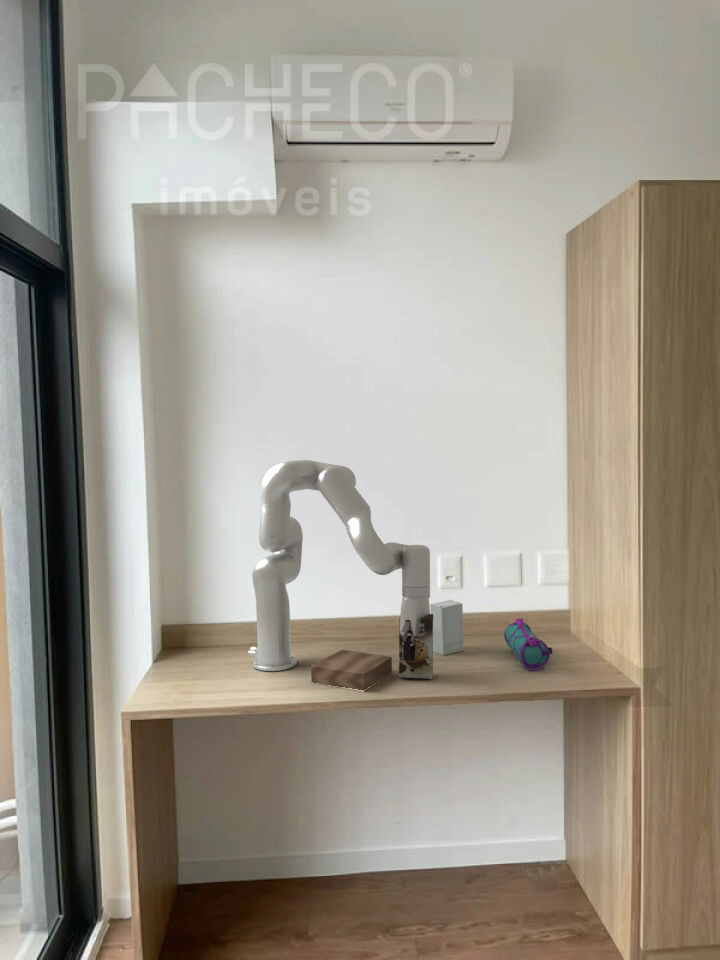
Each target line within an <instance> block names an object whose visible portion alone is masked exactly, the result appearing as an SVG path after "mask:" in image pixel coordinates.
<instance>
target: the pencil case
mask: <svg viewBox="0 0 720 960" xmlns="http://www.w3.org/2000/svg"><path fill="white" fill-rule="evenodd" d="M503 633H504V634H503V636H504V641H505V642H506V645H507V646H508V647H509V649H510V650H511V651H512V653H513V654H514V655H515V657H516V659H518V660H519V662H520V663H521V664H522V665H523V666H524V668H525V669H526V670H528V671H531V672H535V671H539V670H540V669H543V668H544V667H545V666H546V665H547V664H548V663H549V660H550V656H551V655H553V647H552V646H551V647H549V646H548V645H547V643H546V642H545V641H543V640H542V639H541V638H538V637H537V636H536V635H535V633H533V632H532V629H531V627H530V626H529V624H527V623H526V622H524V618H515V622H512V623H510V624H508V626H507V627H506V628H505V630H504V632H503Z"/></svg>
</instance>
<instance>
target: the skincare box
mask: <svg viewBox="0 0 720 960" xmlns="http://www.w3.org/2000/svg"><path fill="white" fill-rule="evenodd" d="M429 605H430V614H433V653H436V654H438V653H439V655H440V654H441V655H440V656H446V655H450V654H453V653H457V652H461V651H464V618H463V617H464V616H463V613H464V611H463V609H464V608H463V603H462V602H459V601H455V600H454V599H453V600H452V599H448V600H444V601H439V602H435V603H434V602H433V603H429Z"/></svg>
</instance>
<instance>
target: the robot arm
mask: <svg viewBox="0 0 720 960" xmlns="http://www.w3.org/2000/svg"><path fill="white" fill-rule="evenodd" d="M356 479H357V478H356V475H355V473H354V471H352V469H350V468H349V467H347V466H345V465H340V464H339V465H338V464H333V463H332V464H331V463H328V462H327V463H326V462H321V461H315V460H307V459H303V460H302V459H300V460H290V461H284V462H281V463H278V464H276V465H274V466H272V467H271V468H270V469H268V470H267V472H266V473H265V475H264V477H263V478H262V483H261V493H260V495H261V497H260V511H259V512H260V513H259V527H258V528H259V529H258V530H259V531H258V541H259V545H260V547H261V548H262V549H263V550H264V551H266V552H268V553H271V555H268V556H267V557H263V558H262V559H260V560H259V561H258V562H257V563H255V565H254V567H253V571H252V576H251V577H252V585H253V589H254V595H255V607H256V608H255V609H256V611H255V612H256V631H257V634H256V635H257V637H256V638H257V646H251V647H250V649H249V650H248V656H254V658H255V659H254V660H253V661H252V667H253V668H254V669H256V670H259V671H263V672H277V671H285V670H288V669H291V668H294V667H295V666H296V665H297V663H298V660H297V658H296V657H295V656H293V655H292V645H291V644H292V643H291V642H292V640H291V613H290V598H289V594H288V590H287V585H288V584H290V583H292V582H293V581H295V580H296V579H297V578H298V576H299V574H300V571H301V567H302V555H303V554H302V553H303V537H304V536H303V535H304V534H303V530H302V529H303V528H302V526H301V524H300V522H299V521H298V520H297V519H296V518H295V517H292V516H291V510H292V509H291V507H292V505H291V499H290V493H292V492H296V491H303V490H311V491H317V492H319V493H320V494H321V495H322V497H323V498H324V499H325V500H326V502H327V503H328V505H330V506H331V508H332V510H333V511H334V513H336V516H338V518H339V520H341V522H342V523H343V524H344V527H345V528H346V532H347V535H348V537H349V539H350V542H351V544H352V546H353V549H354V550H355V552H356V553H357V554H358V555H359V557H360V559H361V560H362V562H364V564H365V565H366V567H367V568H368V569H369V570H370V571H371V572H373V574H374V573H375V574H376V575H379V576H387V575H389V574H391V573H392V572H394V571H396V570H401V598H402V599H401V603H400V604H401V605H400V615H399V618H400V635H401V638H402V642H403V643H402V644H403V659H404V660H410V661H414V660H415V646H413V645H414V641H415V637H416V636H418V635H419V630H420V619H422V618H423V617H425V616H427V615H429V614H431V606H430V598H431V551H430V548H429V547H428V546H427V545H422V544H409V545H408V544H403V543H398V542H393V541H392V542H387V543H384V542H383V541H382V539H381V538H380V537H379V535H378V533H377V532H376V531H375V529H374V526H373V523H372V517H371V516H372V512H371V511H372V510H371V507H370V505H369V504H368V502H367V501H366V500H365V499H364V497H363V496H362V494H361V493H360V492H359V490H357V488H356V483H357V480H356ZM410 627H411V630H412V632H413V634H410V633H408V631H409V629H410ZM407 636H409V637H412V638H411V640H410V639H409V637H407Z"/></svg>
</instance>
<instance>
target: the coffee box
mask: <svg viewBox="0 0 720 960" xmlns="http://www.w3.org/2000/svg"><path fill="white" fill-rule="evenodd" d="M398 625H399V628H398V629H399V631H398V632H399V633H398V637H399V638H398V677H399V678H409V679H410V678H413V679H428V680H429V679H433V673H434V665H433V664H434V651H433V614H431V613H430V614H429V615H427V616H425V617H423V618H422V619H420V630H419V635H418V636H416V637H415V641H414V645H413V646H415V660H414V661H410V660H404V659H403V644H402V643H403V642H402V638H401V635H400V617H399V621H398ZM408 633H410V634H413V632H412V630H411V627H410V629H409V631H408ZM407 637H409V636H407ZM411 638H412V637H409V639H410V640H411Z"/></svg>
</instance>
